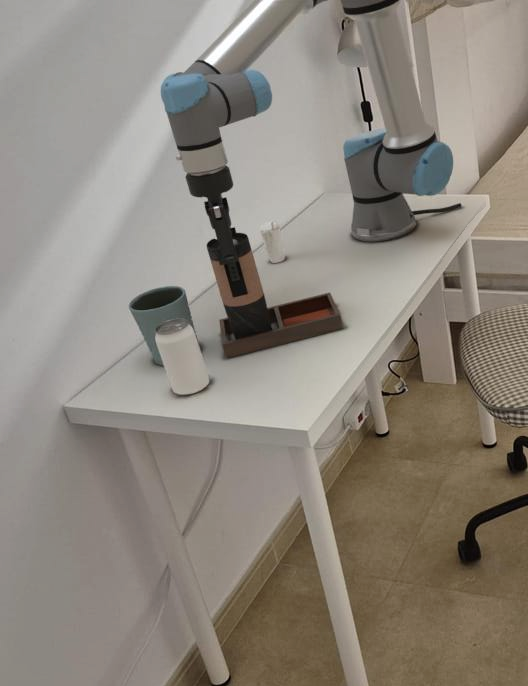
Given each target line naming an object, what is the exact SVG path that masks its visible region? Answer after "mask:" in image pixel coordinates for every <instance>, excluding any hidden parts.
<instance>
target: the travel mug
mask: <svg viewBox="0 0 528 686" xmlns="http://www.w3.org/2000/svg"><path fill="white" fill-rule="evenodd" d="M231 235H232V239H233V243H234V247H235V251H236V255H237V256H238V259H239V262H240V266H241V269H242V273H243V277H244V280H245V284H246V288H247V291H248V294H247V295H243V296H239V297H234V298H233V296H232V293H231V289H230V286H229V282H228V279H227V275H226V272H225V268H224V265H221V266H220V264H219V261H221V260H222V256H221V252H220V248H219V244H218V241H217V238H211V239H210V240H208V242H207V243H206V250H207V253H208V257H209V260H210V263H211V267H212V271H213V274H214V277H215V281H216V284H217V288H218V291H219V295H220V299H221V301H222V304H223V308H224V310H225V314H226V318H228V320H229V323H230V326H231V329H232V332H233V333H232V335H233V337H234V340H235V339H239V338H243V337H247V336H251V335H255V334H259V333H263V332H267V331H271V330H273V326H272V323H271V321H270V317H269V313H268V309H267V308H268V305H267V301H266V297H265V292H264V289H263V285H262V282H261V277H260V274H259V271H258V267H257V263H256V260H255V257H254V254H253V249H252V246H251V243H250V239H249V236H248V235H247V234H246V233H244V232H236V233H231ZM228 256H232V254H231V255H227V256H225V257H228Z"/></svg>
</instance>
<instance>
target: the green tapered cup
mask: <svg viewBox="0 0 528 686" xmlns="http://www.w3.org/2000/svg"><path fill="white" fill-rule="evenodd" d="M128 309H129V311H130V313H131V315H132V317H133V319H134V321H135V323H136V325H137V326H138V329H139V331H140V332H141V335H142V337H143V340H144V341H145V343H146V344H145V345H146V346H147V348H148V350H149V352H150V353H151V357H152V359H153V360H154V362H155V364H157V365H158V366H163V367H164V364H163V361H162V358H161V356H160V353H159V350H158V347H157V344H156V340H155V336H156V332H155V328H156V327H157V326H158V325H159V324H161V323H163V322H165V321H168V320H172V319H178V318H182V319H186V320H188V322H189V323H188V324H189V325H190V326H191V327H192V328H193V330H194V332H195V335H196V338H197V342H198V345H199V348H200V349H201V347H200V342H199V339H198V335H197V334H196V333H197V332H196V329H195V325H194V322H193V316H192V312H191V308H190V307H189V302H188V296H187V293H186V290H185V288H183V287H181V286H179V285H178V286H177V285H167V286H161V287H156V288H153V289H150V290H147V291H144V292H142V293H140V294H138V295H137V296H135V297H134V298H133V299H131V300H130V302H129V304H128Z"/></svg>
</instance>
